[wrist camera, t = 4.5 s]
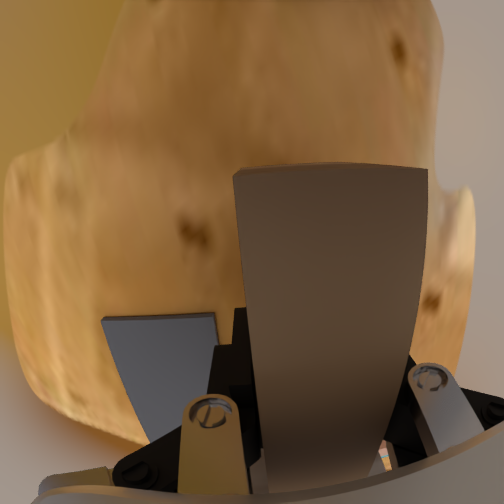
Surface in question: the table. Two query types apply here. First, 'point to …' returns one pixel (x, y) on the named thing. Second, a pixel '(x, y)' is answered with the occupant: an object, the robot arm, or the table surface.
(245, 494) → the robot arm
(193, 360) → the mat
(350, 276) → the scraper
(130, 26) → the table surface
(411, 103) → the table surface
